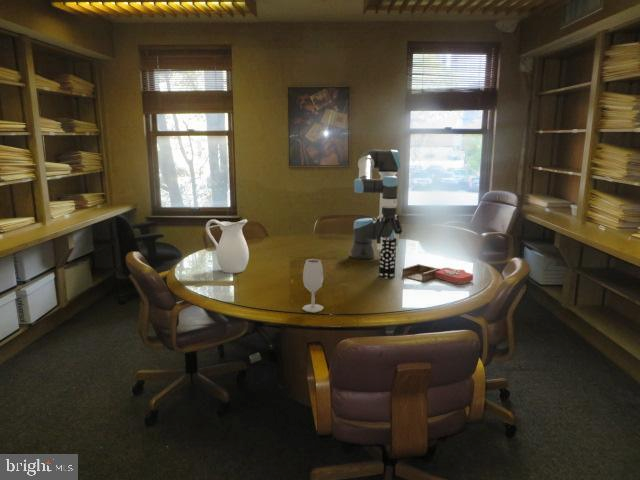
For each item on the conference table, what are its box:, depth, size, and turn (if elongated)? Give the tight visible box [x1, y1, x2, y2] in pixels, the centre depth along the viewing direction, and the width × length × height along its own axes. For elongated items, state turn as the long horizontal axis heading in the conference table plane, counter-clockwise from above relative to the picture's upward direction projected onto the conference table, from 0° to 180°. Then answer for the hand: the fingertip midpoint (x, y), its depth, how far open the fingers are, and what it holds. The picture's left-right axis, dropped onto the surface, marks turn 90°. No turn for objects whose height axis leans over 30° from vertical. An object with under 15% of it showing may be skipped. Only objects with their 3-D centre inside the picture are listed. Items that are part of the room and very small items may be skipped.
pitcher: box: [205, 218, 250, 274], centre depth 256 cm, size 24×17×28 cm
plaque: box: [435, 267, 474, 285], centre depth 244 cm, size 18×4×15 cm
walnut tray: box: [401, 263, 441, 283], centre depth 248 cm, size 13×14×4 cm
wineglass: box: [302, 258, 325, 313], centre depth 197 cm, size 9×9×21 cm
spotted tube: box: [378, 237, 397, 279], centre depth 247 cm, size 8×8×20 cm
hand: (387, 247), depth 246 cm, fingers open, 13 cm apart
